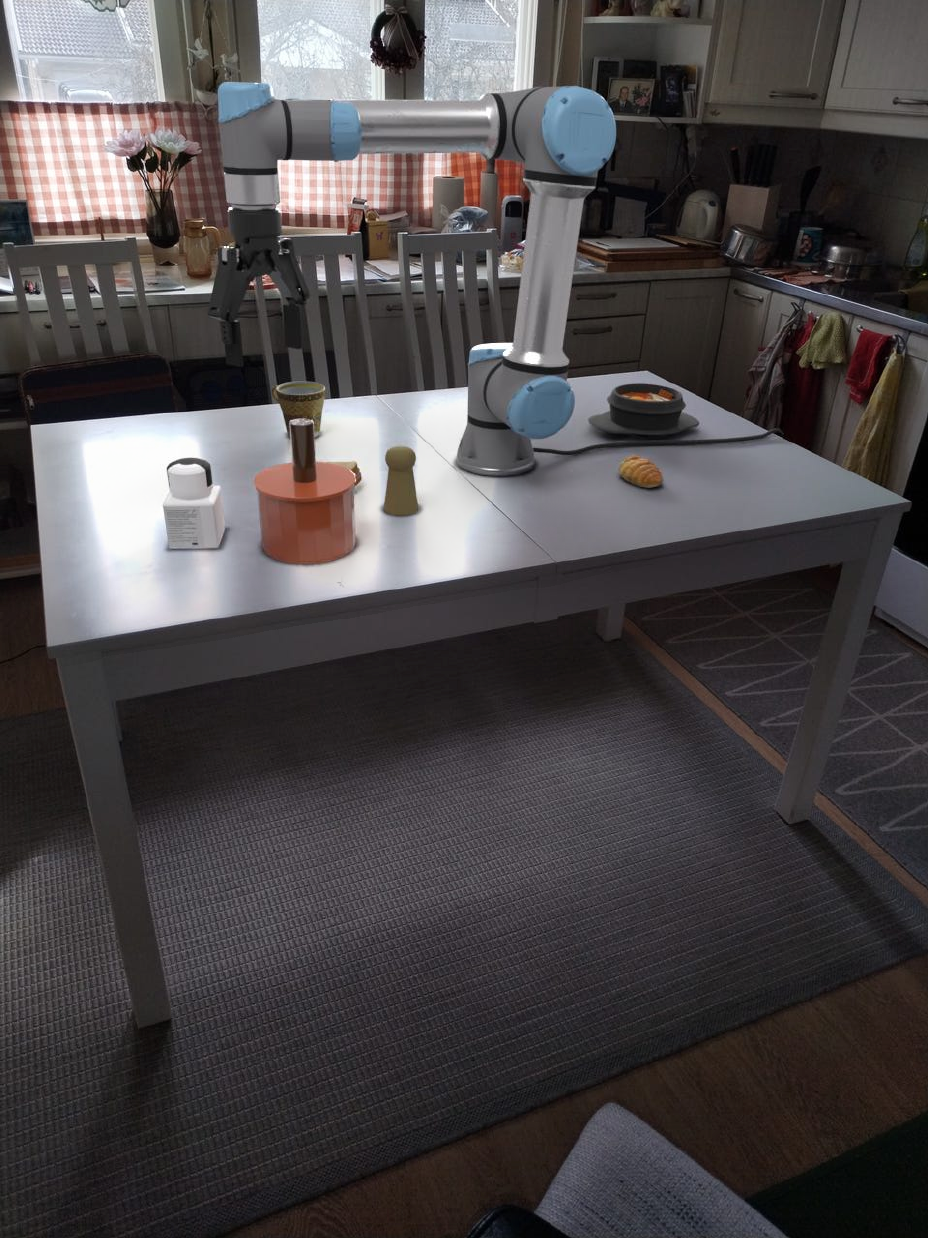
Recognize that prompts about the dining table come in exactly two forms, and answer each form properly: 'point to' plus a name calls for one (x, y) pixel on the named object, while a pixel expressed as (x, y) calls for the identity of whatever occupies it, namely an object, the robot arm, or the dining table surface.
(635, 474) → the pastry
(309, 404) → the ceramic cup
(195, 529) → the container
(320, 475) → the lid
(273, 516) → the pot
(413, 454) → the olive pawn figure
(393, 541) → the dining table surface
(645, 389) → the casserole
